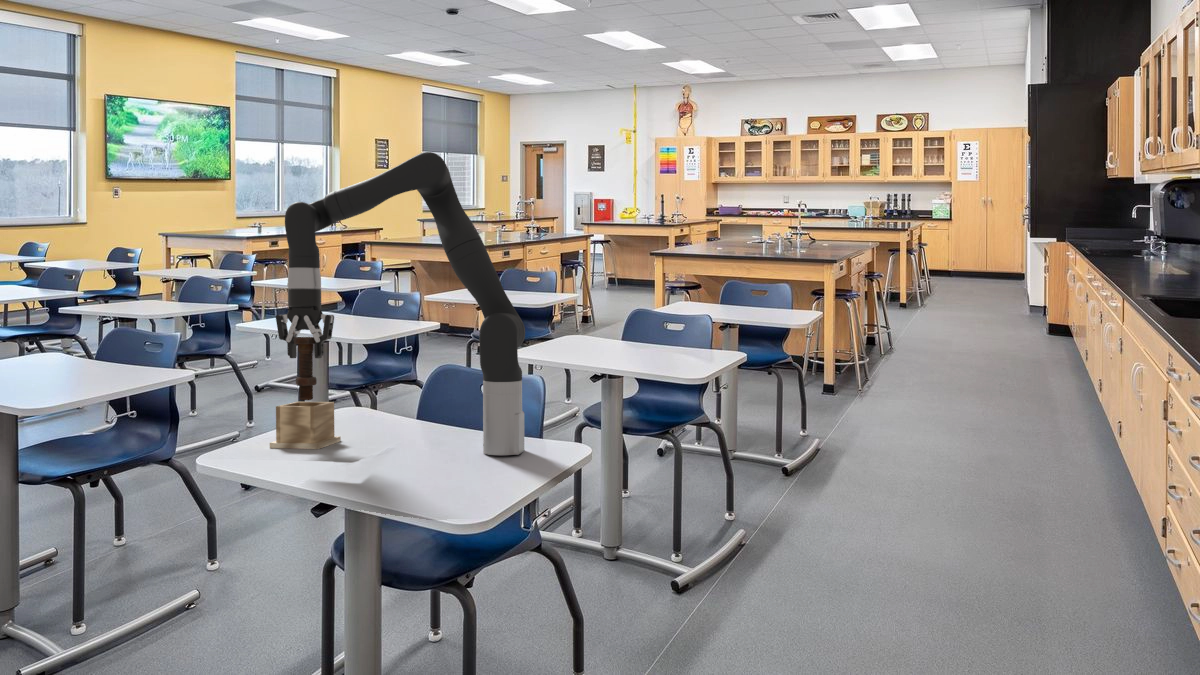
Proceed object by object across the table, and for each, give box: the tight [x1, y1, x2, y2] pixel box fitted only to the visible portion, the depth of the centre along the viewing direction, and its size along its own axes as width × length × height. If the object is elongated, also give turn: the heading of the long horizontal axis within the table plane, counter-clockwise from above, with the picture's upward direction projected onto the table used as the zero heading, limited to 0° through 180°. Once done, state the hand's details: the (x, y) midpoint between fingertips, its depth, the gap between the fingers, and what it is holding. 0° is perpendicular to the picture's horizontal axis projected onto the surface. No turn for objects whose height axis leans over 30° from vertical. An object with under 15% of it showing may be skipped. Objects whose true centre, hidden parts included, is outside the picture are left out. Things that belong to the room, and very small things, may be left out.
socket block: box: [269, 401, 342, 450], centre depth 207 cm, size 12×12×10 cm
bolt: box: [293, 336, 318, 401], centre depth 207 cm, size 6×5×15 cm
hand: (305, 357), depth 207 cm, fingers closed on bolt, 5 cm apart
